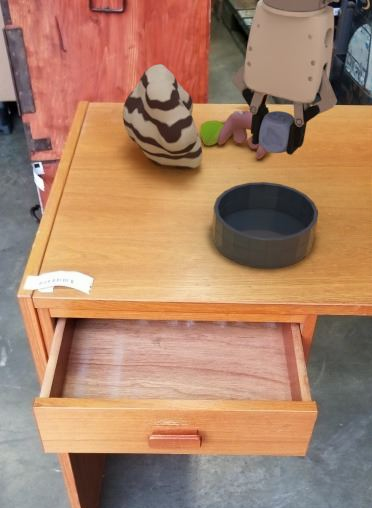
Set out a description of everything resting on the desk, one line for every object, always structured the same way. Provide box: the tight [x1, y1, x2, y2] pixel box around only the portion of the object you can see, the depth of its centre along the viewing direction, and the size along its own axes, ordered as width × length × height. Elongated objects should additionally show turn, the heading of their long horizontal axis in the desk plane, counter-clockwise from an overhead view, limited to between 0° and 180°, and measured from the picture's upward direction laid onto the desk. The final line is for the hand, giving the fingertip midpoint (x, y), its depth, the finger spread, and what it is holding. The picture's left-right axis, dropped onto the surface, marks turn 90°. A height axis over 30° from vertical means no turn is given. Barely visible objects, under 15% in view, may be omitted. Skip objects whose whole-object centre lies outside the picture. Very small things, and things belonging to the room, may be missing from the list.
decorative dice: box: [259, 110, 295, 154], centre depth 80 cm, size 4×4×4 cm
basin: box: [212, 181, 319, 270], centre depth 89 cm, size 15×15×5 cm
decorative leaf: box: [200, 120, 234, 147], centre depth 112 cm, size 8×9×1 cm
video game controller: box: [217, 110, 268, 160], centre depth 108 cm, size 10×5×7 cm, turn 56°
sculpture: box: [122, 63, 203, 171], centre depth 101 cm, size 22×12×15 cm, turn 14°
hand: (275, 144), depth 81 cm, fingers closed on decorative dice, 4 cm apart
